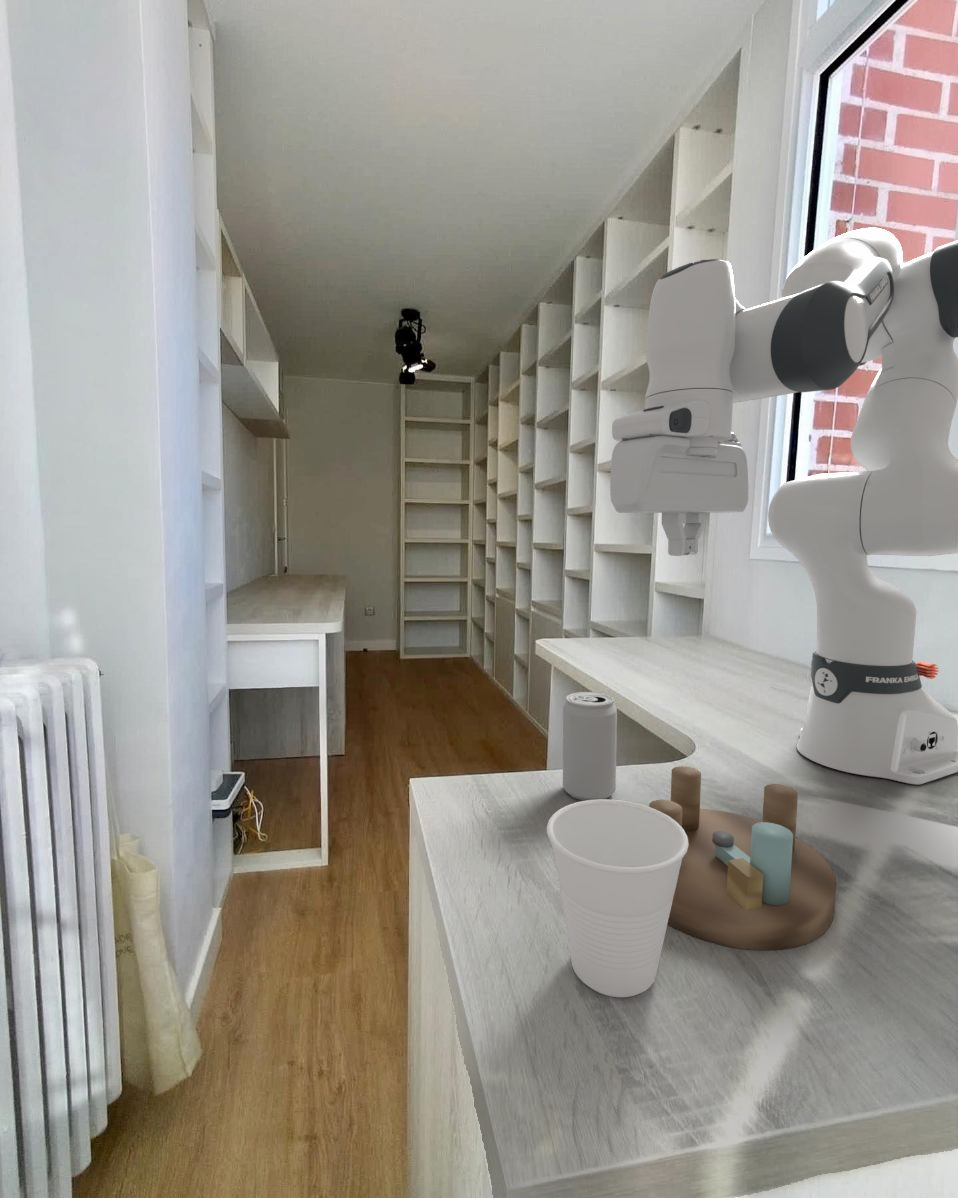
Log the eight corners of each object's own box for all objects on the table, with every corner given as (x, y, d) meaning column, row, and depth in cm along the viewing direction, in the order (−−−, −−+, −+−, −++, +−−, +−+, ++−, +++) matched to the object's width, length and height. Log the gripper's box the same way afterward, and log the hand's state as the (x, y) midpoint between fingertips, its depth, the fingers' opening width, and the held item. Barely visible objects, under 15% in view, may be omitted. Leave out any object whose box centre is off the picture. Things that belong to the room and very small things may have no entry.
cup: (657, 922, 50) (661, 796, 48) (705, 1021, 40) (712, 867, 39) (538, 926, 50) (538, 800, 48) (557, 1027, 40) (558, 872, 38)
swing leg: (701, 851, 56) (704, 796, 55) (730, 847, 56) (732, 792, 56) (766, 908, 48) (769, 843, 47) (797, 901, 48) (801, 838, 48)
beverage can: (616, 806, 70) (618, 706, 68) (560, 802, 71) (561, 704, 70) (615, 783, 76) (616, 691, 75) (564, 779, 77) (564, 688, 76)
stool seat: (740, 821, 66) (743, 751, 65) (887, 926, 49) (895, 834, 48) (589, 844, 62) (590, 770, 61) (692, 970, 45) (696, 869, 44)
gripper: (715, 436, 73) (710, 550, 75) (600, 421, 61) (598, 558, 63) (766, 429, 68) (760, 552, 70) (652, 411, 56) (648, 561, 58)
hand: (682, 555), depth 66 cm, fingers closed
